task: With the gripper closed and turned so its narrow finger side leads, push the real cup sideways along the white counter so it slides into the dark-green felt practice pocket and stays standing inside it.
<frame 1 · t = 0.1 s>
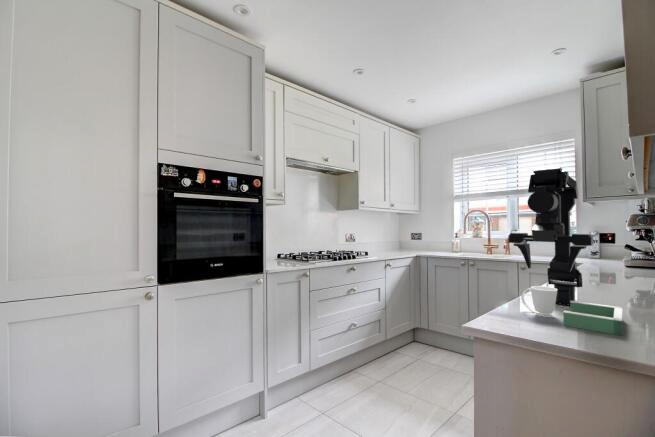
hand: (548, 270, 88), 15 cm above the counter, fingers open, 9 cm apart
pocket: (590, 322, 88), on the counter
cup: (538, 314, 97), on the counter
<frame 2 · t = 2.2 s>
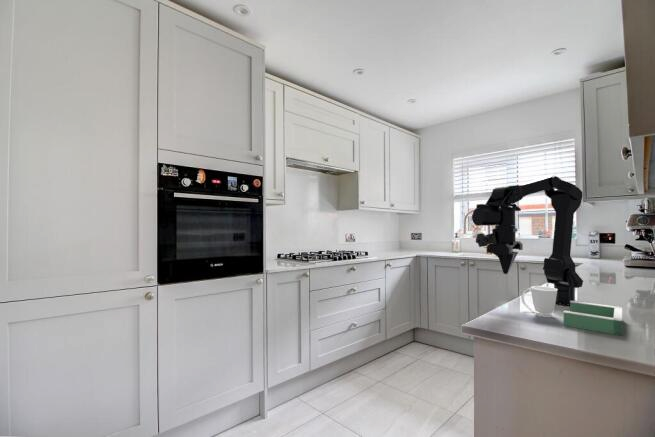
hand: (505, 273, 103), 11 cm above the counter, fingers closed
nothing on the counter moved.
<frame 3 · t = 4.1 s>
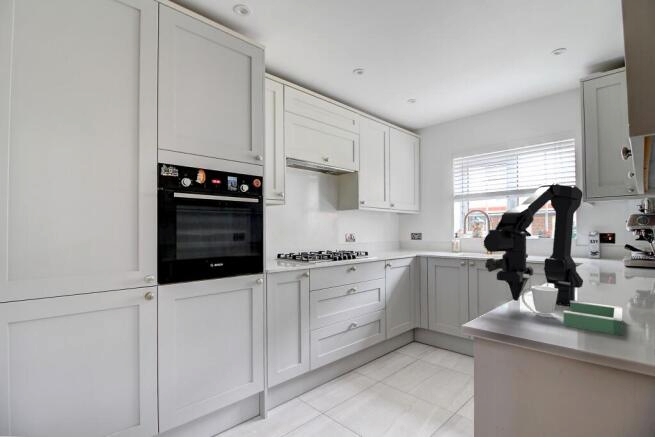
hand: (515, 300, 101), 3 cm above the counter, fingers closed
cup: (539, 314, 96), on the counter, touching gripper
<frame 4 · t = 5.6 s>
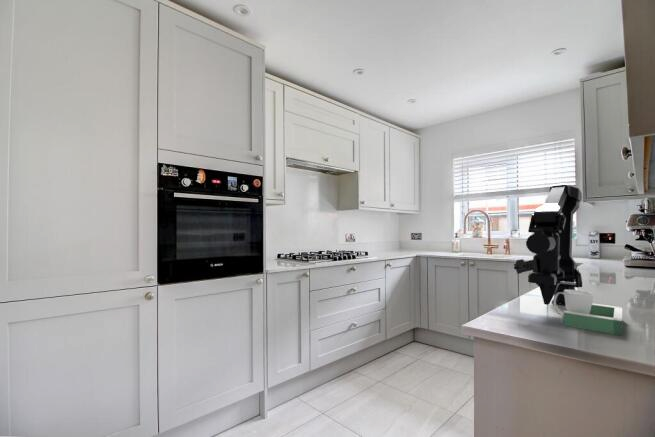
hand: (546, 304, 95), 3 cm above the counter, fingers closed
cup: (571, 320, 91), on the counter, touching gripper
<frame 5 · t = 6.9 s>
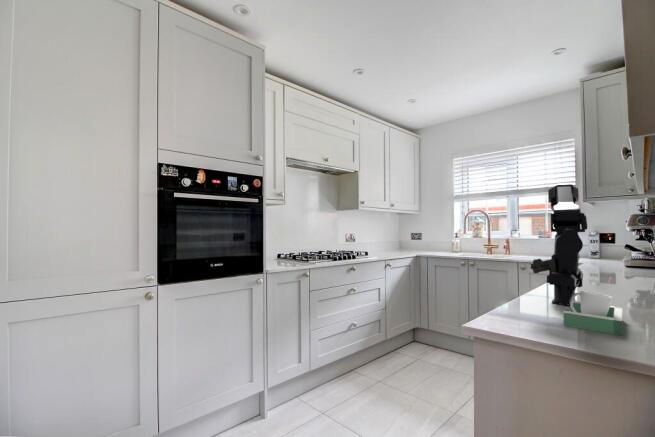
hand: (563, 305, 93), 4 cm above the counter, fingers closed
cup: (586, 321, 88), on the counter, touching gripper
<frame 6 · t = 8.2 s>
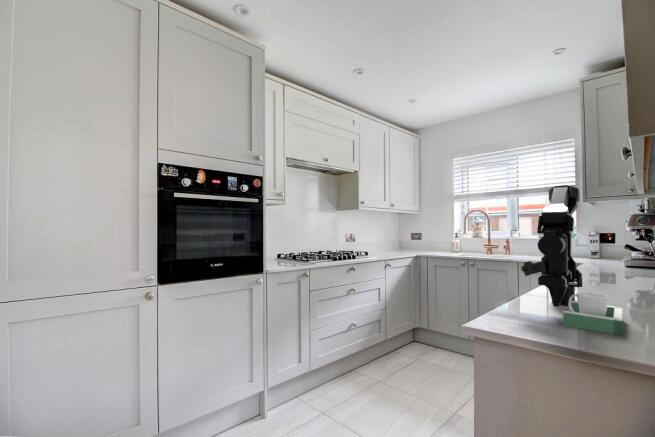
hand: (555, 306, 94), 3 cm above the counter, fingers closed
cup: (586, 323, 88), on the counter
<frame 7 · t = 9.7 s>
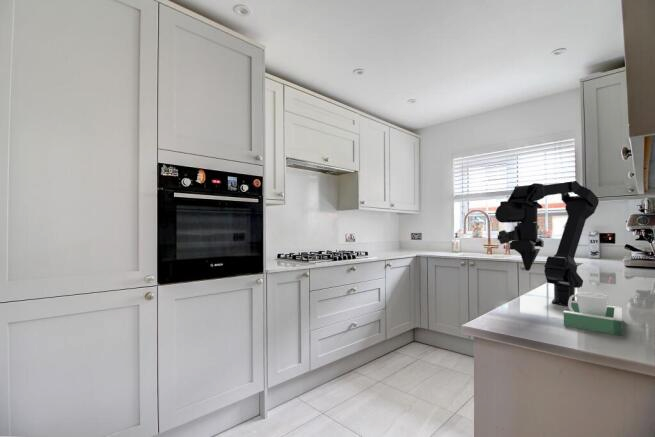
hand: (527, 270, 104), 12 cm above the counter, fingers closed
nothing on the counter moved.
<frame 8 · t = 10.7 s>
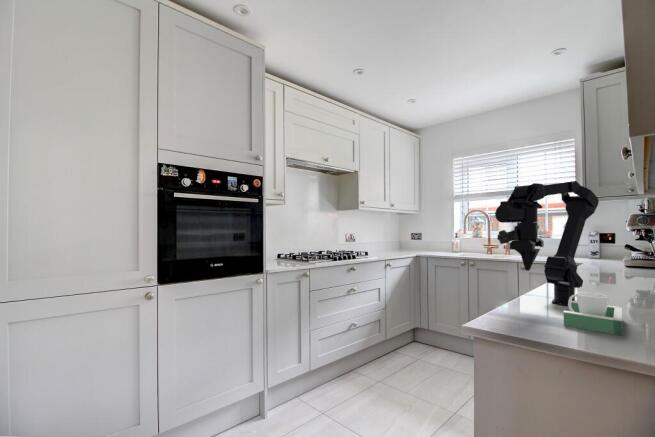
hand: (527, 270, 104), 12 cm above the counter, fingers closed
nothing on the counter moved.
at the end: cup inside the target area on the pocket (1.7 cm from its centre), point 0.0 cm above the pocket's base; cup tilted 0° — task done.
